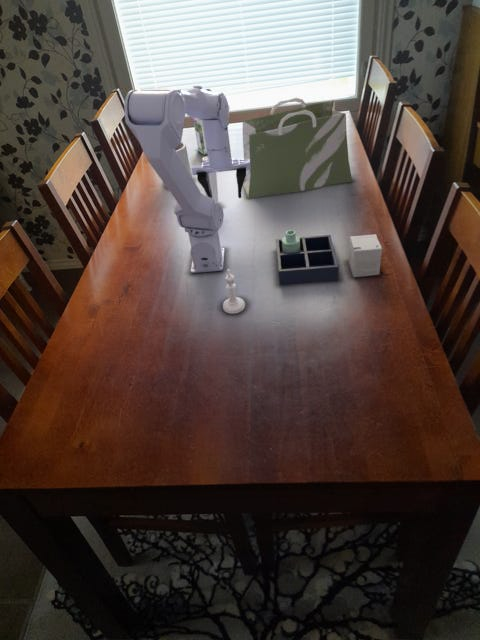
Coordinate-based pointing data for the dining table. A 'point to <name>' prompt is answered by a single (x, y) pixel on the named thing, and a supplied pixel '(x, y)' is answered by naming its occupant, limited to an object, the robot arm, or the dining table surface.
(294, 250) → the bottle
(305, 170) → the grocery bag
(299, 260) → the divided tray
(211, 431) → the dining table surface
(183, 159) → the cup
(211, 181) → the perfume bottle
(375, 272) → the white cardboard box
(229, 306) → the chess piece
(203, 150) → the syrup box
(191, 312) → the dining table surface
